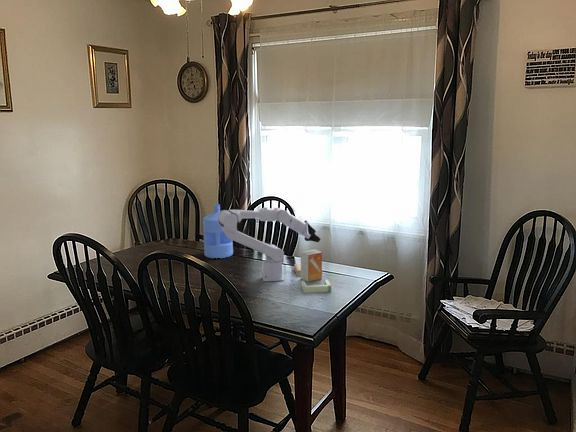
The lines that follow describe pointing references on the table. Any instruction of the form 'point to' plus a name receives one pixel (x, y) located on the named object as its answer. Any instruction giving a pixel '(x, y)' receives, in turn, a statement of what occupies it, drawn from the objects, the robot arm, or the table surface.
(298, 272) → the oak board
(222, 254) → the water jug
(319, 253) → the small box
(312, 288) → the tray
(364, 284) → the table surface
